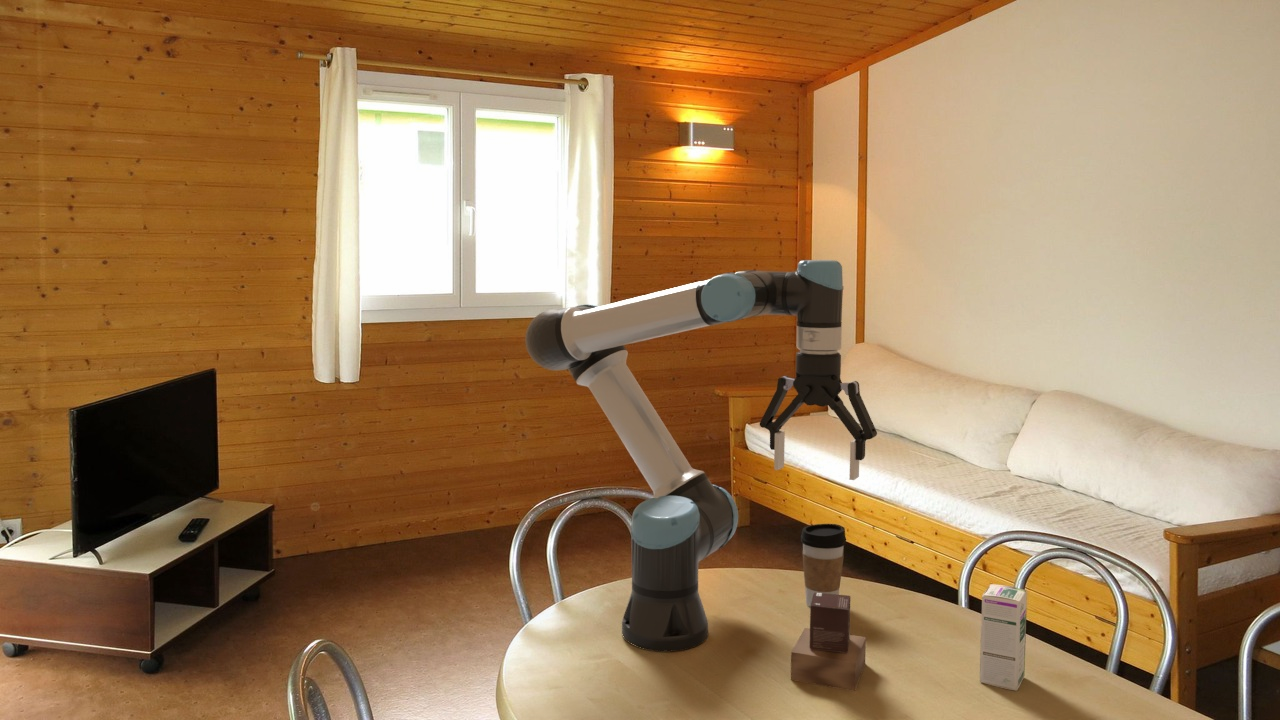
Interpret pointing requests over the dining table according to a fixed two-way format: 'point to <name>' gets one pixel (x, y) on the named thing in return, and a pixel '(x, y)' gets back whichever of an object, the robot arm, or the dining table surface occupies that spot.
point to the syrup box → (1003, 636)
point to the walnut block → (828, 663)
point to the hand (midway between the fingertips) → (815, 473)
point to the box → (830, 622)
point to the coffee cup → (822, 558)
